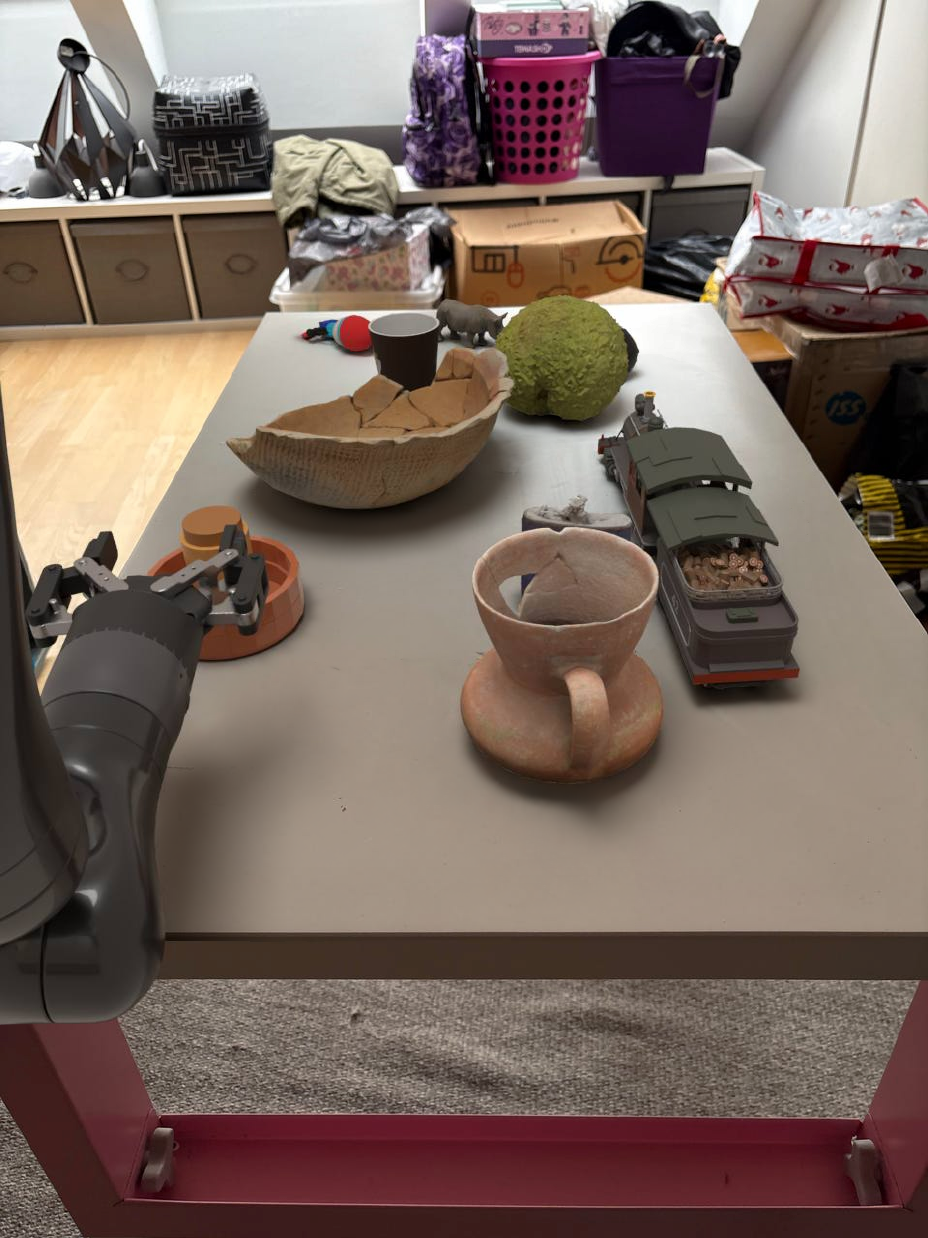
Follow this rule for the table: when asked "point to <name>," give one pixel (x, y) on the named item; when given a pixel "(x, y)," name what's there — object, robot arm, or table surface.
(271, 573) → the terracotta bowl
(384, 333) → the coffee mug
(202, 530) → the orange lidded canister
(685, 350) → the table surface
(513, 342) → the fruit
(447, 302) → the rhino figurine
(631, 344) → the figurine
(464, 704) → the ceramic jug
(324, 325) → the toy figure
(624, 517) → the flask
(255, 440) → the ceramic bowl
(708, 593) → the toy train
